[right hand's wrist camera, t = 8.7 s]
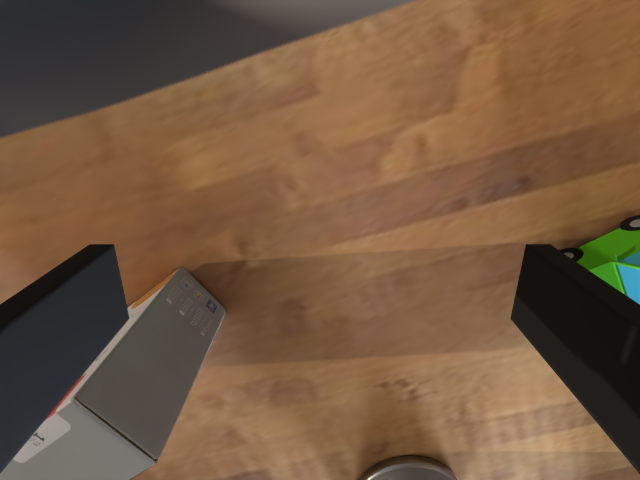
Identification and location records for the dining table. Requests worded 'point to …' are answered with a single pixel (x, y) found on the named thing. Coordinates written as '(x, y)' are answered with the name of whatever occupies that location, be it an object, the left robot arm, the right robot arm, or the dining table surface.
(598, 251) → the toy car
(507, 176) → the dining table surface
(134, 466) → the hard drive box
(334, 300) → the dining table surface
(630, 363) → the right robot arm
